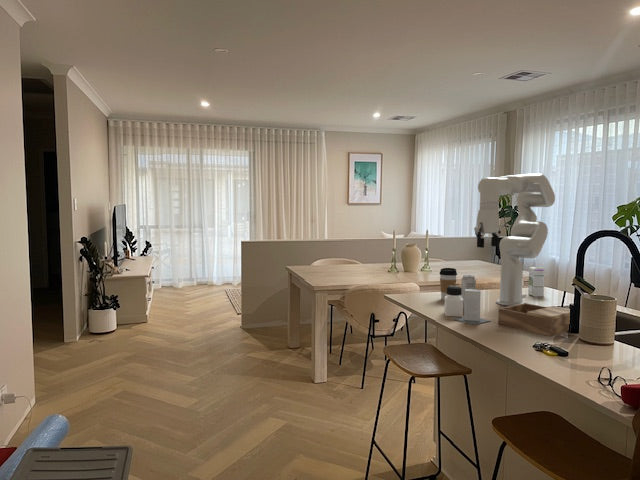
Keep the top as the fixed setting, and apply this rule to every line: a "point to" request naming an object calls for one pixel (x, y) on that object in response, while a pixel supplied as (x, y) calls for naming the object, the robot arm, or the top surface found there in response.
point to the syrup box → (536, 281)
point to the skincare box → (472, 305)
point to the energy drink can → (467, 285)
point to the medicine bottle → (453, 302)
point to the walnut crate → (536, 318)
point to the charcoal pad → (472, 321)
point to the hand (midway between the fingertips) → (487, 246)
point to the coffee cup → (447, 280)
